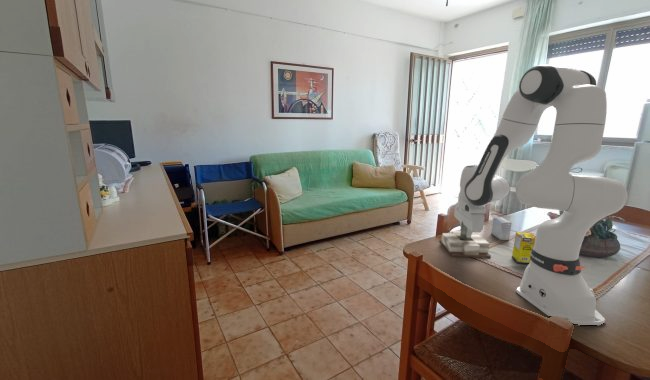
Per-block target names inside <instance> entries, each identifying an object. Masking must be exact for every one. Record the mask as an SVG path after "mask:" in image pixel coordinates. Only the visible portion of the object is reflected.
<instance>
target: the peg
mask: <svg viewBox="0 0 650 380" xmlns="http://www.w3.org/2000/svg"><path fill="white" fill-rule="evenodd" d="M460 229H461V234H460V240H461V241H470V238H467V237H466V236H465V235H466V232H467V231H468V230H467V227H466V226H465V225H464V224H463V221H462V225H461V227H460Z"/></svg>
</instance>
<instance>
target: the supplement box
mask: <svg viewBox="0 0 650 380" xmlns="http://www.w3.org/2000/svg"><path fill="white" fill-rule="evenodd" d="M535 238H536V234H533V233H532V232H520V231H519V232H518V231H516V232H515V237H514V240H513V241H514V243H513V248H512V254H511V258H512V259H513V260H514V261H515V262H516V263H517V264H519V265H520V264H521V265H529V263H530V261H531V259H530V253H531V250H532V248H533V247H534V243H535Z"/></svg>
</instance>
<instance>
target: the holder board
mask: <svg viewBox="0 0 650 380" xmlns="http://www.w3.org/2000/svg"><path fill="white" fill-rule="evenodd" d="M441 234H442V235H441V238H440V239H439V242H440V243H441V245H442V246H443V247H444V248H445V249H446V250H447V251H448V253H449V254H450V256H451V257H452V258H477V257H485V258H484V259H486V258H487V259H491V257H492V256H491V254H490V253H489V251H490V243H489V242H488V241H487V240H486V239H485V238H483V237H482V236H481V234H479V233H472V235H471V238H470V241H461V240H460V234H461V231H460V230H459V231H458V230H457V231H456V230H455V231H454V230H453V231H452V230H451V232H442V233H441Z"/></svg>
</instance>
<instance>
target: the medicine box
mask: <svg viewBox="0 0 650 380" xmlns="http://www.w3.org/2000/svg"><path fill="white" fill-rule="evenodd" d="M512 224H513V223H512V222H511V221H510V220H508V219H506V218H504V217H501V216H495V217H493V219H492V226H491V235H493V236H494V237H496V238H497V239H498V240H500V241H510V237H511V230H512Z"/></svg>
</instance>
